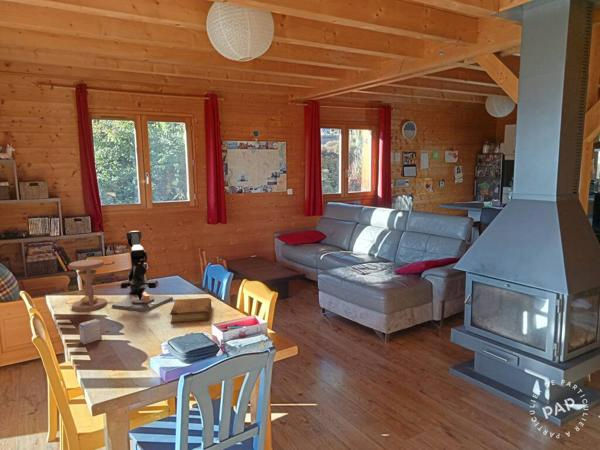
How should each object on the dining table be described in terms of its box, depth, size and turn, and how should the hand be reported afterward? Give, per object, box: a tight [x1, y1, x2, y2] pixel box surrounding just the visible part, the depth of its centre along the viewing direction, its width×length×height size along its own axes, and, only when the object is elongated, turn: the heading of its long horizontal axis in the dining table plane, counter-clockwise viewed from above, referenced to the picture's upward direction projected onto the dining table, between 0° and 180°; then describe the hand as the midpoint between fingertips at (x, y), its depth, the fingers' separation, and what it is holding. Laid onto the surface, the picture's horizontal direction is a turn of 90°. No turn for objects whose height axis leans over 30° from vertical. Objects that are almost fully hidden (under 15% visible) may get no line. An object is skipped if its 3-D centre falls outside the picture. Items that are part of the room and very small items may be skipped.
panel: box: [111, 294, 174, 313], centre depth 249 cm, size 23×23×2 cm
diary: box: [169, 297, 212, 325], centre depth 228 cm, size 23×19×6 cm
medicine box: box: [78, 318, 103, 345], centre depth 196 cm, size 8×4×9 cm, turn 141°
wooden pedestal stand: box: [68, 258, 108, 312], centre depth 243 cm, size 18×18×25 cm
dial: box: [131, 290, 155, 304], centre depth 246 cm, size 17×12×5 cm
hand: (140, 299), depth 240 cm, fingers closed
